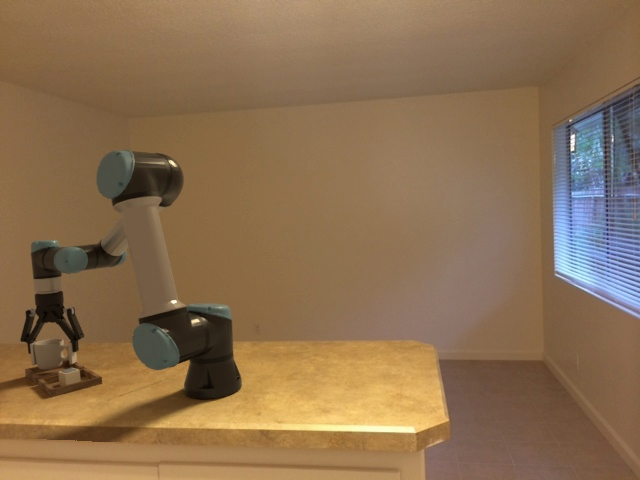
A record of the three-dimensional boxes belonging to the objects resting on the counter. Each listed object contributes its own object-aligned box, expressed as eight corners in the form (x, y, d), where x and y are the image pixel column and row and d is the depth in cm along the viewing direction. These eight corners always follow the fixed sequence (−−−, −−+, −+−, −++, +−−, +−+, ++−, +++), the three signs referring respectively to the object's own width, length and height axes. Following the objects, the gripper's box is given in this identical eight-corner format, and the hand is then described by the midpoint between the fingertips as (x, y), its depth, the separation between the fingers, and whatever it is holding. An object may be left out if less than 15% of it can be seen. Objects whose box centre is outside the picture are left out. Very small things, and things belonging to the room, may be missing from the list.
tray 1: (85, 375, 150) (84, 366, 150) (37, 387, 141) (36, 378, 141) (71, 366, 159) (70, 358, 159) (25, 377, 150) (25, 369, 150)
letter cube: (80, 383, 140) (79, 369, 140) (66, 388, 137) (65, 373, 137) (73, 381, 143) (72, 367, 142) (59, 385, 139) (58, 371, 139)
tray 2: (102, 385, 140) (101, 377, 139) (51, 399, 131) (51, 390, 130) (86, 375, 149) (85, 367, 149) (38, 387, 140) (37, 379, 140)
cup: (79, 363, 153) (77, 338, 153) (63, 372, 145) (61, 345, 145) (46, 363, 154) (45, 338, 154) (29, 372, 146) (27, 345, 146)
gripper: (93, 287, 152) (98, 358, 153) (18, 290, 152) (24, 360, 154) (80, 292, 144) (86, 365, 146) (2, 295, 145) (8, 368, 146)
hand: (54, 363), depth 150 cm, fingers open, 11 cm apart
